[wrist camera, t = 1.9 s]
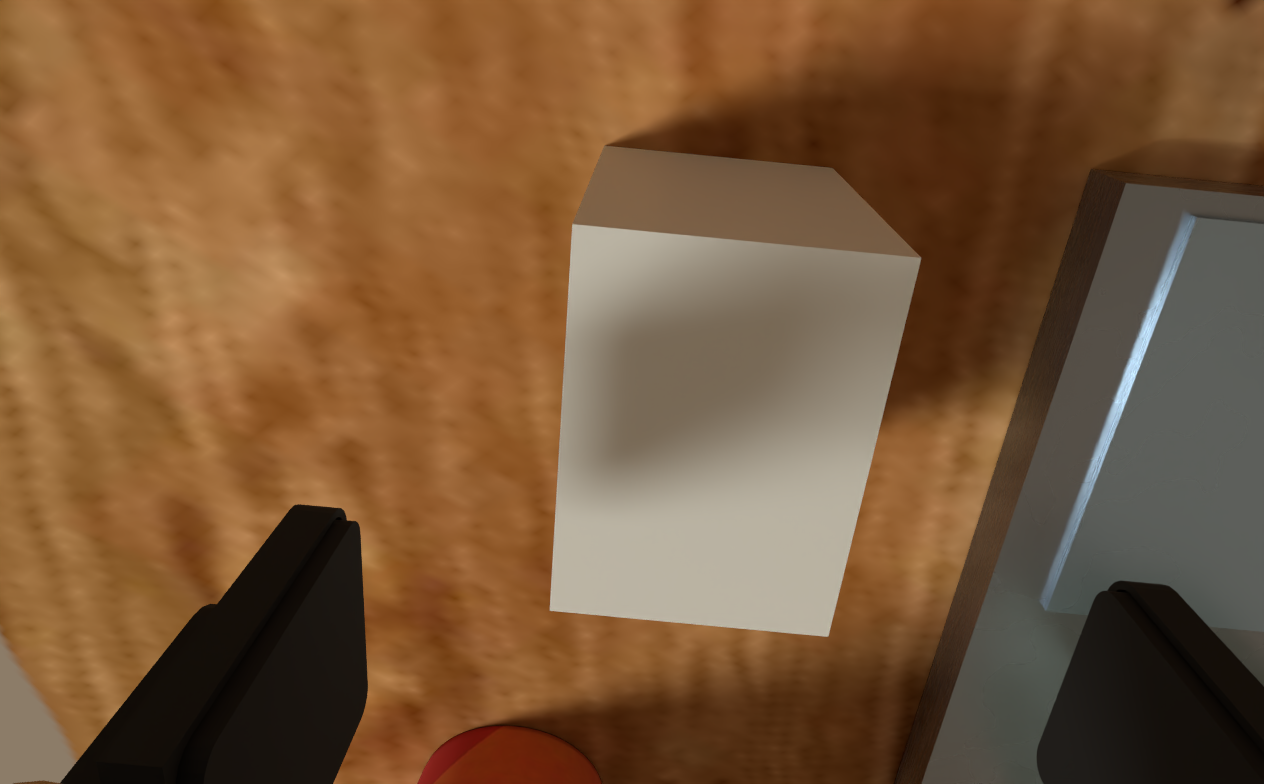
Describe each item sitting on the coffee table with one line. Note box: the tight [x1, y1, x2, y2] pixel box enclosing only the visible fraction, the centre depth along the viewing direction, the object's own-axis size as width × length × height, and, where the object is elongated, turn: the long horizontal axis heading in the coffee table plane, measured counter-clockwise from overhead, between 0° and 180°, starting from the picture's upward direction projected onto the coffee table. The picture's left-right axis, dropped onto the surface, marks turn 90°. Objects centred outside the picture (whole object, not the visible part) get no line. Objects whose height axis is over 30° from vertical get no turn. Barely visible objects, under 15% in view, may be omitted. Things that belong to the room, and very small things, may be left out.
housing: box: [550, 146, 921, 637], centre depth 17 cm, size 7×5×7 cm
